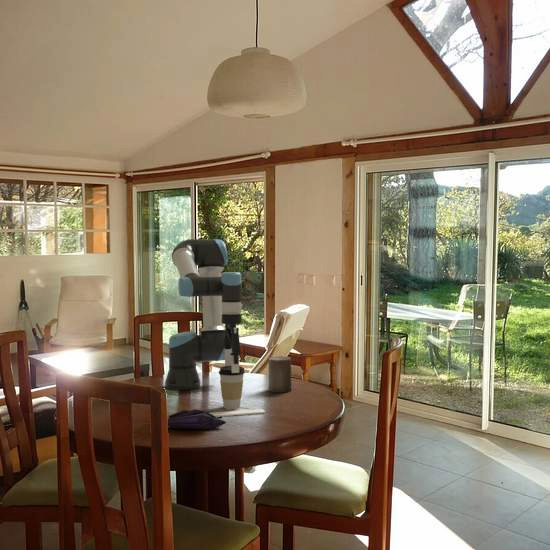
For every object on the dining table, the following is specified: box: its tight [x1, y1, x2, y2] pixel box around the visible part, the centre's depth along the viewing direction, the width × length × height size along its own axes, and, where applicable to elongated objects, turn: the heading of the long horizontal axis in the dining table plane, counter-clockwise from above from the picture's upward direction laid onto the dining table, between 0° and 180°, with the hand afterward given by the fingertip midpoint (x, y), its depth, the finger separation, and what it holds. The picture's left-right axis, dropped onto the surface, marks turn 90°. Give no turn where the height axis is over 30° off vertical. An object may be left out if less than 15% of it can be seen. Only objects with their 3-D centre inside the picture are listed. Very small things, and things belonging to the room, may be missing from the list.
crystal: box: [167, 408, 226, 430], centre depth 207 cm, size 7×12×20 cm
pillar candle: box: [268, 355, 292, 393], centre depth 261 cm, size 10×10×15 cm
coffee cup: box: [218, 365, 245, 410], centre depth 233 cm, size 10×10×15 cm
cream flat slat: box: [209, 408, 266, 418], centre depth 223 cm, size 4×24×1 cm, turn 105°
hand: (231, 369), depth 233 cm, fingers open, 13 cm apart
